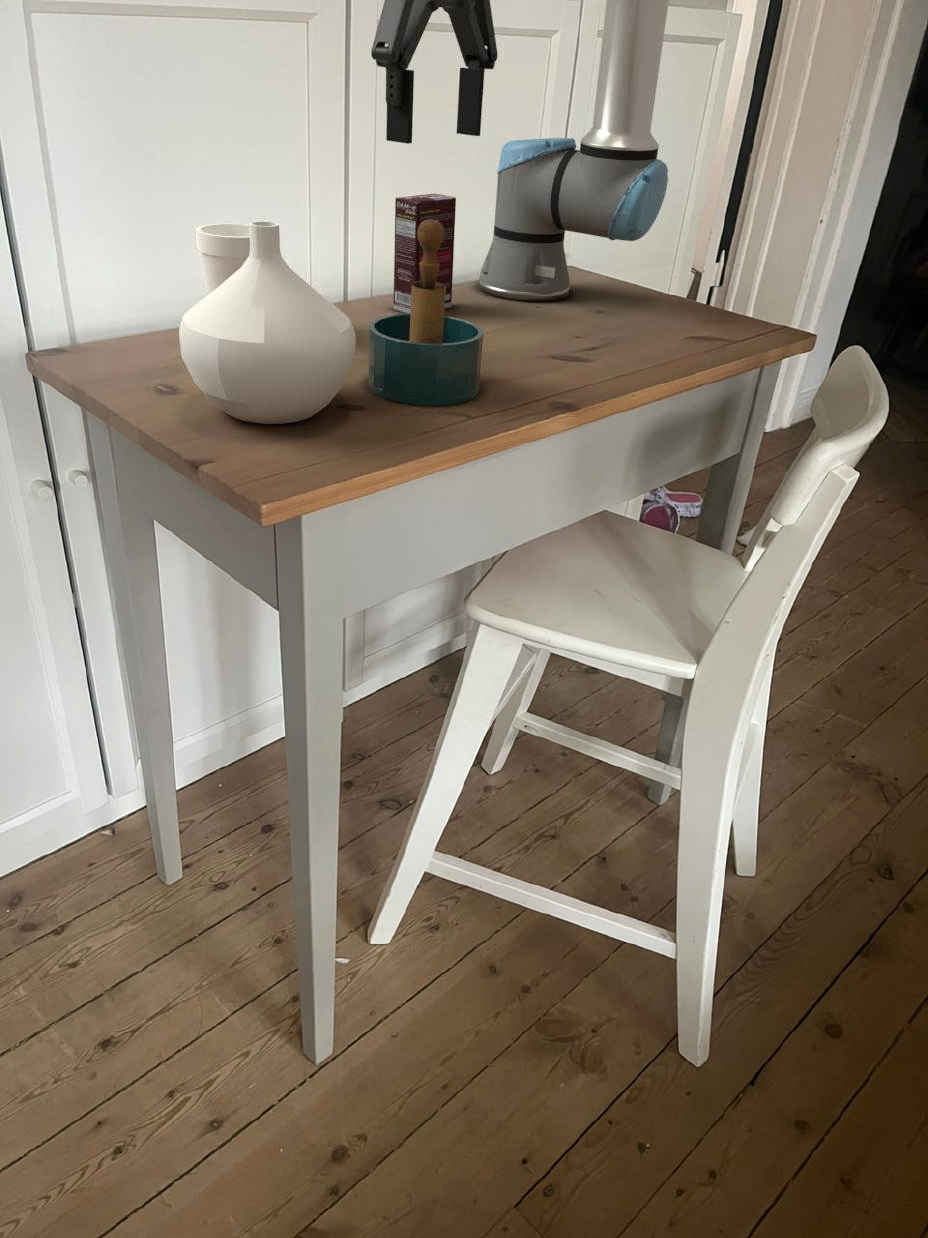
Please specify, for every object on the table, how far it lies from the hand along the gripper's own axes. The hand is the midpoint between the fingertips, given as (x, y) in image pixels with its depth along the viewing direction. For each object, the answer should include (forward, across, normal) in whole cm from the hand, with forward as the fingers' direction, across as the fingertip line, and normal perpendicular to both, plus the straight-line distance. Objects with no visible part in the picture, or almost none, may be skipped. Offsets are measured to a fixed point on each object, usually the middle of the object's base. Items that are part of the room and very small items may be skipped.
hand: (435, 138), depth 103 cm
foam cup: (+27, +2, -29) cm, 40 cm away
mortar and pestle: (+26, +3, +2) cm, 26 cm away
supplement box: (+27, -27, -19) cm, 43 cm away
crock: (+27, +3, +2) cm, 27 cm away
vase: (+27, +21, -6) cm, 34 cm away
